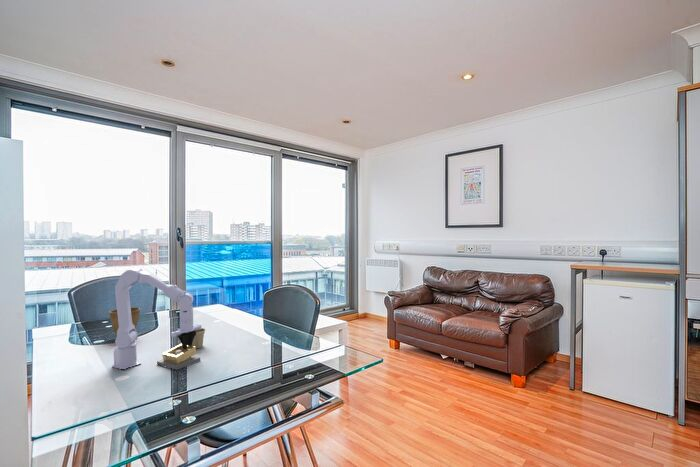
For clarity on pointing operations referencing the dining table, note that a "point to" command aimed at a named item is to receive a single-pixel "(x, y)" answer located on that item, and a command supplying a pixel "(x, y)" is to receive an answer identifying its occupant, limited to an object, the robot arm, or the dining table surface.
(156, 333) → the dining table surface
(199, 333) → the flower pot
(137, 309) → the plant pot
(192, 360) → the grey piece
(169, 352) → the gold square frame
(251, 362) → the dining table surface
